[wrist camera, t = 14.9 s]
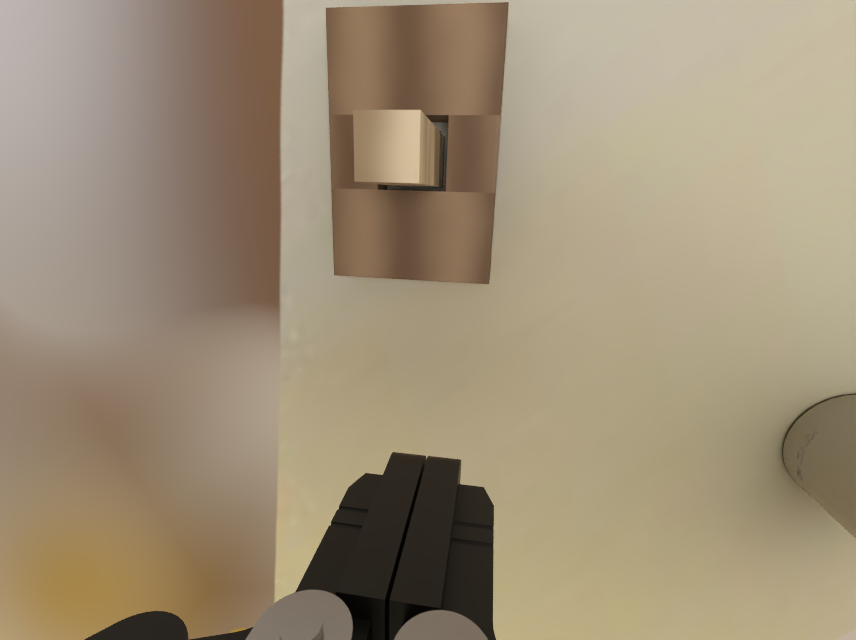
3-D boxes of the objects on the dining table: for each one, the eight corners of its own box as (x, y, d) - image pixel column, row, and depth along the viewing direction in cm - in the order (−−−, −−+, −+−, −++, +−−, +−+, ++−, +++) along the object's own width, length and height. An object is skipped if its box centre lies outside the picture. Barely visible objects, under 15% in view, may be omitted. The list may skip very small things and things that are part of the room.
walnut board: (507, 20, 30) (508, 2, 27) (489, 277, 35) (489, 284, 32) (341, 24, 32) (325, 7, 29) (346, 269, 37) (334, 275, 34)
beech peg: (445, 136, 33) (421, 108, 22) (443, 187, 34) (420, 184, 23) (397, 136, 33) (352, 108, 23) (397, 186, 34) (353, 182, 24)
